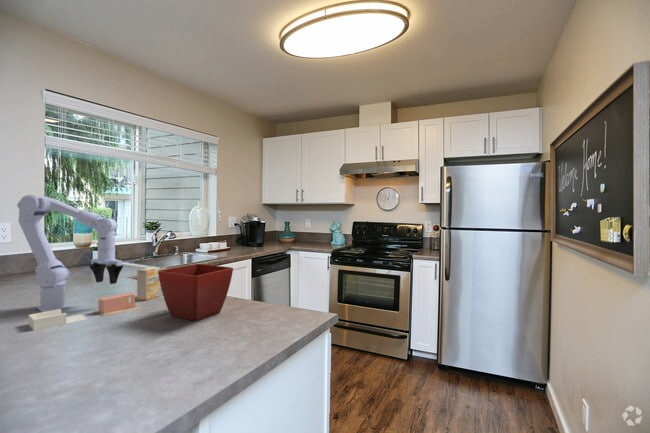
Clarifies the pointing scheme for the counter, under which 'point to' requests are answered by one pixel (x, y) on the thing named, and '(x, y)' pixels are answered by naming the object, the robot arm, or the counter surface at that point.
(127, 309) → the cork mat
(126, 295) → the pink block
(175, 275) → the plant pot
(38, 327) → the dispenser sleeve
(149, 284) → the supplement box
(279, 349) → the counter surface
